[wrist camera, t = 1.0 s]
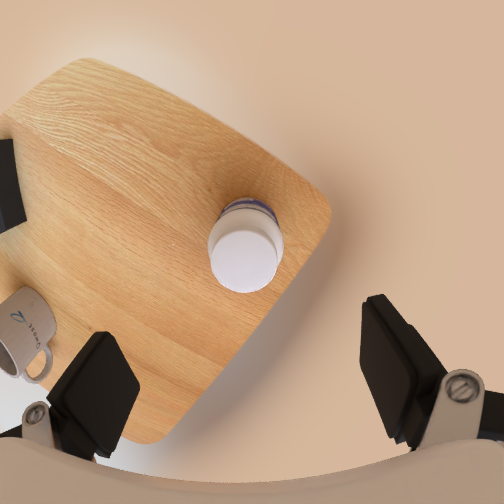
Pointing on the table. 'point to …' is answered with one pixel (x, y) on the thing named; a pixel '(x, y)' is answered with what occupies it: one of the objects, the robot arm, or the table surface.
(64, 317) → the table surface
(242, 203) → the pill bottle
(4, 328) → the mug
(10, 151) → the socket pad
